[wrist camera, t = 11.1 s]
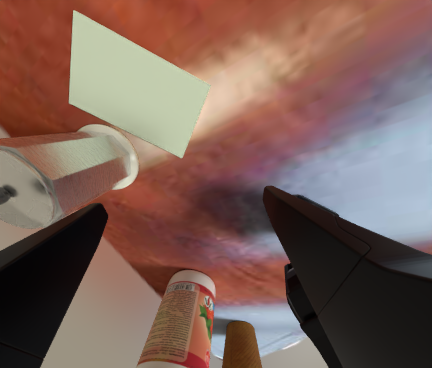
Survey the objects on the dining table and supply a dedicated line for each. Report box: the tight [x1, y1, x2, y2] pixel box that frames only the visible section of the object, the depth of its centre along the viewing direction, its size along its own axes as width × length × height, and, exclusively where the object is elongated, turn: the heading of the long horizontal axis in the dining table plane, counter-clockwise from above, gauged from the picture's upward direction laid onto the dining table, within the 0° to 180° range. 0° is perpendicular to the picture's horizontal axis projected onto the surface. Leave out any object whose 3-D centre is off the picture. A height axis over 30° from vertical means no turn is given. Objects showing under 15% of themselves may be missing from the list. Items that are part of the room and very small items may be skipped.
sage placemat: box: [69, 10, 211, 158], centre depth 18 cm, size 15×9×1 cm, turn 64°
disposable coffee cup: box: [222, 321, 262, 368], centre depth 30 cm, size 10×10×12 cm
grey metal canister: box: [0, 131, 131, 229], centre depth 16 cm, size 7×7×11 cm
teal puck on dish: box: [77, 124, 139, 190], centre depth 20 cm, size 9×9×3 cm
